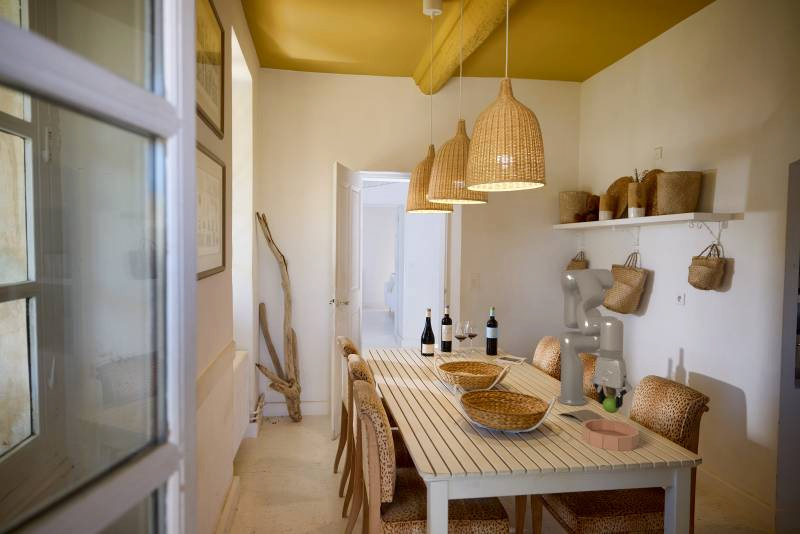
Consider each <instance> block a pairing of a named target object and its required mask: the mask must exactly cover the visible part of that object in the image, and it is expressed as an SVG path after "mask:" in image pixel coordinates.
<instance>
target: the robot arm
mask: <svg viewBox="0 0 800 534" xmlns="http://www.w3.org/2000/svg"><path fill="white" fill-rule="evenodd" d="M615 283H616V280H615V276H614V274H613V272H612V271H611V270H610V269H607V268H606V269H605V268H584V269H569V270H565V271H563V272H562V273H561V276H560V286H561V291H562V293H563V298H564V299H563V323H564V326H565V327H566V328H568V329H576V330H570V331H569V330H567V331H563V332H562V333H561V334H560V335H559V338H558V339H559V348H560V361H561V362H560V366H561V367H560V395H558V396H557V397H556V401H557V402H558V403H560V404H563V405H565V406H574V407H575V406H579V407H581V406H585V405H587V402H588V401H587V399H586V398H585V397H584V396H586V395H588V391H587V390H585V389H584V371H585V370H584V368H585V367H584V366H585V365H584V364H585V363H584V361H583V359H582V358H581V357H580V356H579V354H596V353H597V354H599V355H598V356H597V357H596V361H595V367H594V375H593V377H591V379H590V380H589V381H590V383H591V384H592V385H593V386H594V389H596V392H597V393H598V394H597V395H598V397H597V398H598V404H599V405H603V401H604V400H605V399H606V396H605V394H604V391H603V385H602V384H603V383H604V384H605V386H606V387H610V388H614V389H616V392H617V393H616V394H617V395H616V397H615V399H616V408H619V409H620V408H622V407H623V405H624V400H623V399H624V396H625V395H626V394H627V393H629V392H631V391H632V390H633V387H632V385H631V383H629V381H628V375H627V373H628V372H627V366H626V364H627V363H626V361H625V360H626V359H624V322H623V321H622V320H620V319H619V318H617V317H616V316H610V315H609V316H608V315H602V313H601V311H600V309H598V307H601V306H602V305H603V304H604V303H605V301H606V298H607V297H606V293H605V291H610V290H612V289H613V288H614V286H615ZM577 329H578V330H577ZM602 380H605V382H604V381H602Z"/></svg>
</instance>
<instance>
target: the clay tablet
mask: <svg viewBox="0 0 800 534" xmlns="http://www.w3.org/2000/svg"><path fill="white" fill-rule="evenodd" d="M560 414H561V413H560ZM560 414H558V416H561V415H560ZM562 415H570V416H573V417H575V418H576V419H578V420H579V421H580V422H581V423H582V422H585V421H587V420H592V419H605V418H604V417H603V416H602V415H601V414H599V413H597V412H594V411H593V410H590V409H586V408H585V409H580V410H575V411H569V412H563V413H562Z"/></svg>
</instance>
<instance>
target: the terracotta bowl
mask: <svg viewBox="0 0 800 534" xmlns="http://www.w3.org/2000/svg"><path fill="white" fill-rule="evenodd" d="M581 440H582V441H584V442H585V443H587V444H588V445H590V446H593V447H595V448H599V449H603V450H607V449H608V451H615V452H621V451H622V452H624V451H625V452H626V451H633V450H635V449H637V448H639V445H640V432H639V429H638V428H636V427H635V426H633V425H631V424H629V423H625V422H622V421H618V420H613V419H605V418H604V419H592V420H587V421H585V422H582V421H581Z"/></svg>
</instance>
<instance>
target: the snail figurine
mask: <svg viewBox="0 0 800 534" xmlns="http://www.w3.org/2000/svg"><path fill="white" fill-rule="evenodd" d="M602 381H604V382H605V380H602ZM602 385H603V391H604V394H605V400H604V401H603V403H602V408H603V410H605V412H606V413H609V414H615V413H616V412H618V411H619V409H620V408H616V396H617V392H616V389H614V388H610V387H606V386H605V384H604V383H603V384H602Z"/></svg>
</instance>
